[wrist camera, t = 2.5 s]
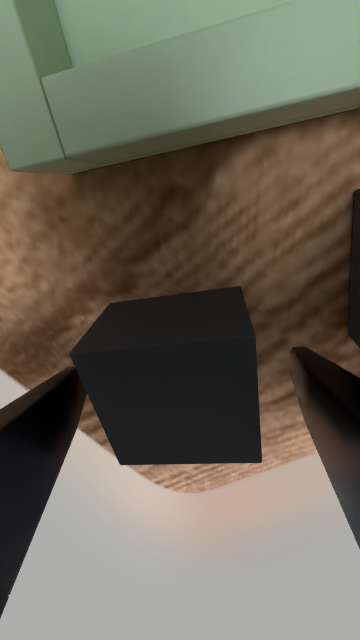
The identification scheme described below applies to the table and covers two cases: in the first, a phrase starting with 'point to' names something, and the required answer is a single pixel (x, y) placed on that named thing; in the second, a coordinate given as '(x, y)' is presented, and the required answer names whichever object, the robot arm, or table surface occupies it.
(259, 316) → the table surface
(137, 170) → the table surface
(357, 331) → the black block
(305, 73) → the green divided tray
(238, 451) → the pad
